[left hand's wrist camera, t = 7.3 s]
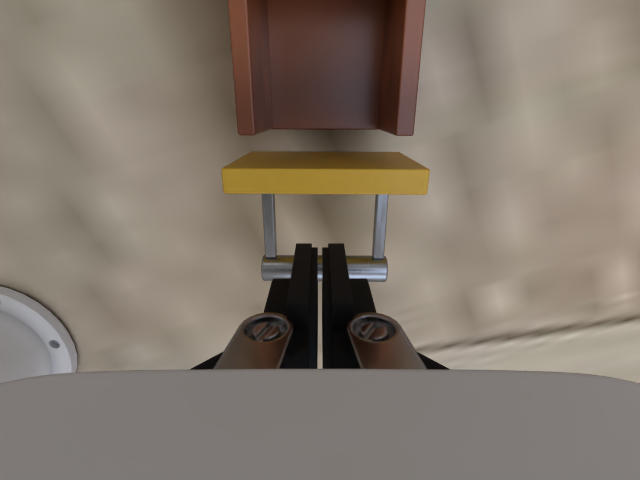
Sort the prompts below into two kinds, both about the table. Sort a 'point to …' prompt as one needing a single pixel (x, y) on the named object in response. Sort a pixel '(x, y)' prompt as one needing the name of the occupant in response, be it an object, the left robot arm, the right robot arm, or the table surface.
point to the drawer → (326, 105)
